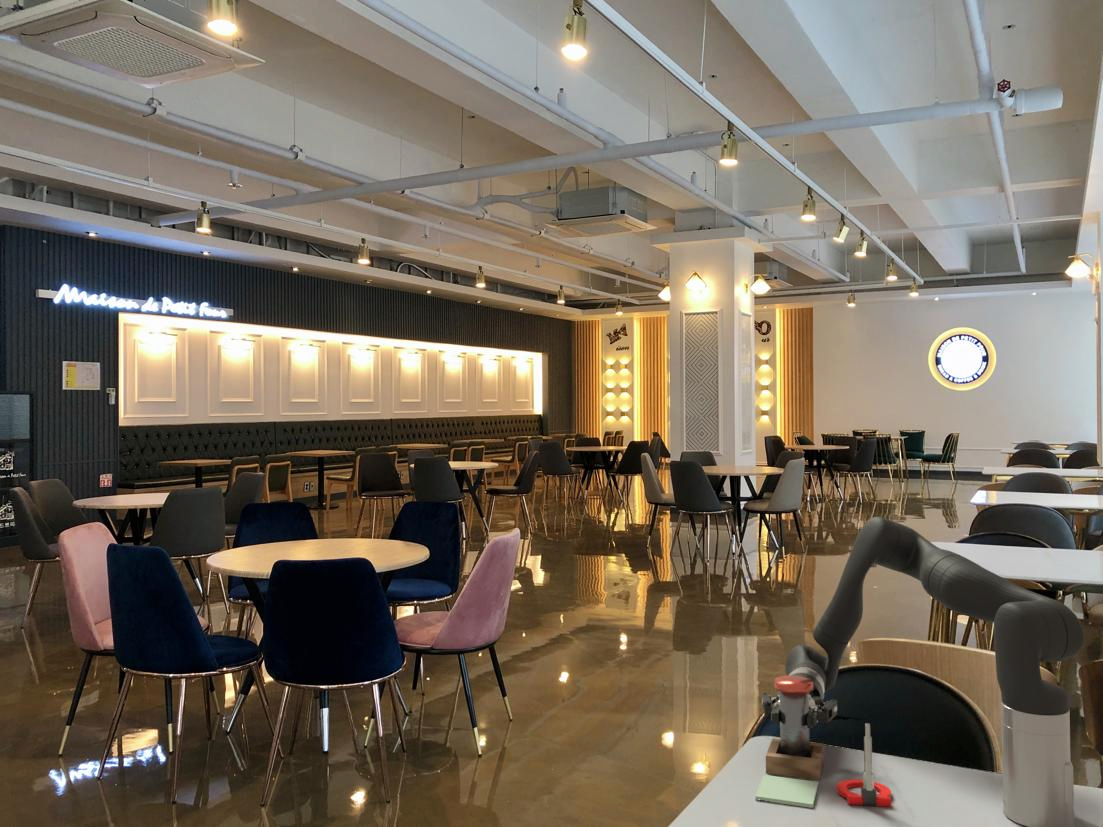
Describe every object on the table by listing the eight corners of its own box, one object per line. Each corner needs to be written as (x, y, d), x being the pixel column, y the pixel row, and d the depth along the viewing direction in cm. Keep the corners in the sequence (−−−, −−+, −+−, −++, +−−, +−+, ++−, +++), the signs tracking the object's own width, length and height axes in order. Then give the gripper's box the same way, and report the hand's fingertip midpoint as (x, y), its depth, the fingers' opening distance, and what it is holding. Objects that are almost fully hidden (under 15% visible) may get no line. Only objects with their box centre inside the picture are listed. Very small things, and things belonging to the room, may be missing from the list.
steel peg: (816, 761, 161) (814, 677, 161) (812, 776, 154) (811, 688, 154) (778, 757, 163) (777, 674, 163) (773, 771, 157) (772, 684, 157)
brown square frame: (824, 760, 161) (823, 743, 161) (819, 779, 153) (819, 762, 153) (773, 754, 165) (772, 737, 165) (765, 772, 156) (765, 755, 156)
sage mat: (818, 785, 151) (818, 782, 151) (812, 808, 142) (812, 804, 142) (763, 778, 154) (763, 774, 154) (755, 799, 146) (755, 796, 146)
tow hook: (833, 784, 152) (842, 806, 143) (832, 707, 153) (841, 724, 143) (884, 787, 151) (897, 809, 142) (883, 709, 151) (896, 726, 142)
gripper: (765, 668, 175) (750, 695, 159) (842, 675, 169) (835, 703, 154) (765, 707, 175) (751, 737, 159) (842, 715, 169) (836, 747, 154)
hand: (792, 720), depth 156 cm, fingers closed on steel peg, 5 cm apart
